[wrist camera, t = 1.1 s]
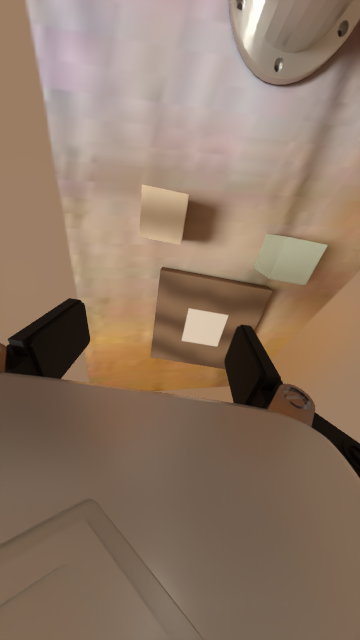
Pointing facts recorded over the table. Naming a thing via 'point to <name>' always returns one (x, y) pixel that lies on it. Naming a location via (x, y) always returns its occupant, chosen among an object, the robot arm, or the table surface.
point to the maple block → (163, 214)
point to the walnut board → (202, 316)
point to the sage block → (288, 258)
